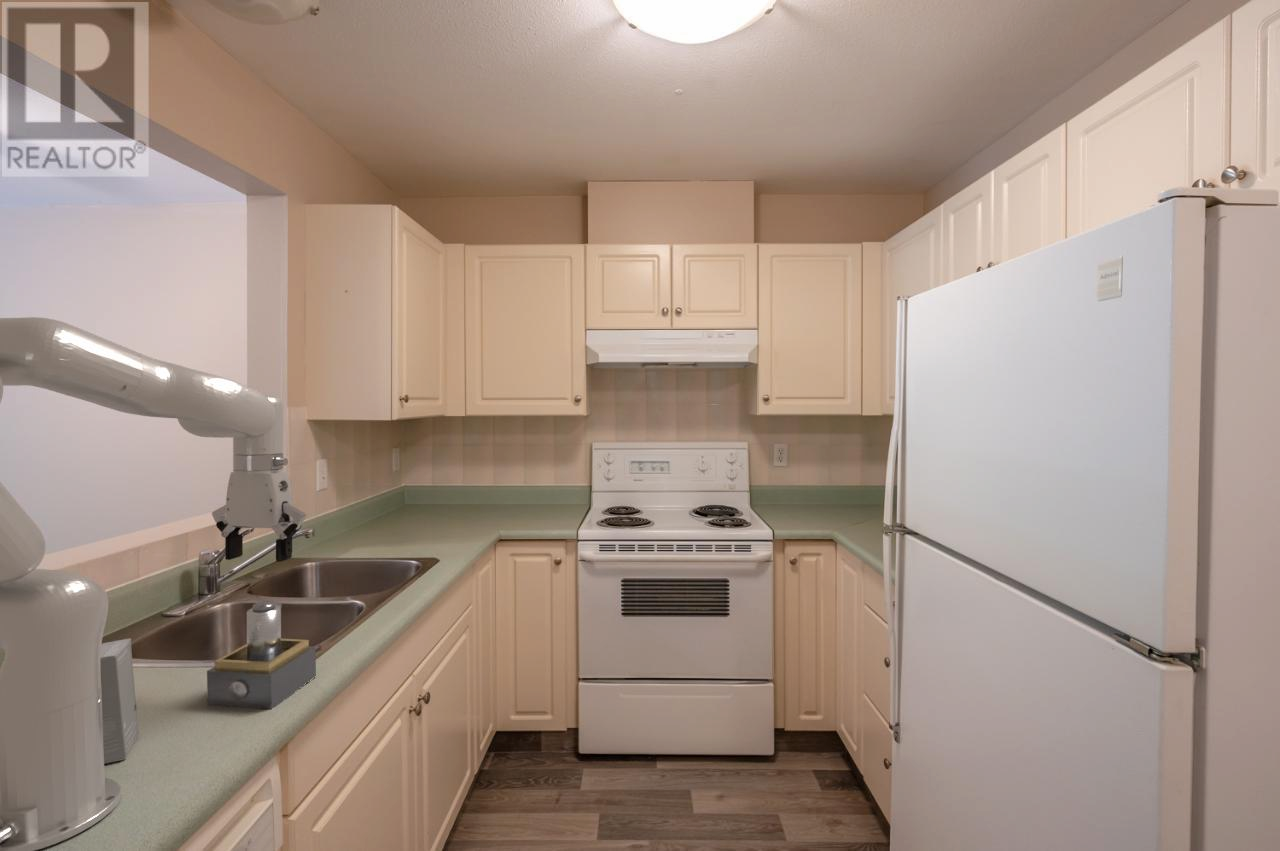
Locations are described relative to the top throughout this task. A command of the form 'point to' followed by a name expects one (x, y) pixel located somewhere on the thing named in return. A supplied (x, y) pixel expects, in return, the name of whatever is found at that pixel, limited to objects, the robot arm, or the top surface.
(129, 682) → the skincare box
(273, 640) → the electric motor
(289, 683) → the grey gold trimmed box
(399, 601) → the top surface
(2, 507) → the robot arm
